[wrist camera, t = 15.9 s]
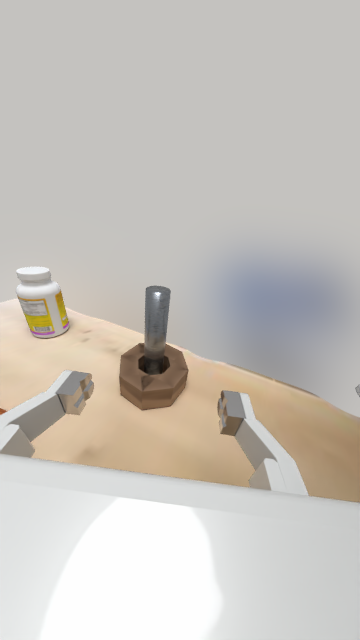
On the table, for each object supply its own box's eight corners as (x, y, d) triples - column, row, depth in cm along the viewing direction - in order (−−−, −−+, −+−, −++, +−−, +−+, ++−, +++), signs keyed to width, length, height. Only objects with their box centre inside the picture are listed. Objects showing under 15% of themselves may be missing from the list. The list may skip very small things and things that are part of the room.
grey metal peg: (160, 372, 31) (168, 286, 23) (163, 386, 29) (172, 295, 21) (143, 374, 30) (144, 285, 22) (144, 389, 28) (146, 294, 20)
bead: (176, 357, 35) (178, 341, 33) (189, 403, 27) (194, 385, 25) (122, 361, 32) (121, 344, 30) (119, 413, 24) (117, 394, 22)
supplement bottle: (59, 318, 42) (45, 263, 35) (75, 329, 39) (63, 271, 32) (25, 330, 37) (1, 268, 30) (41, 343, 34) (18, 278, 27)
